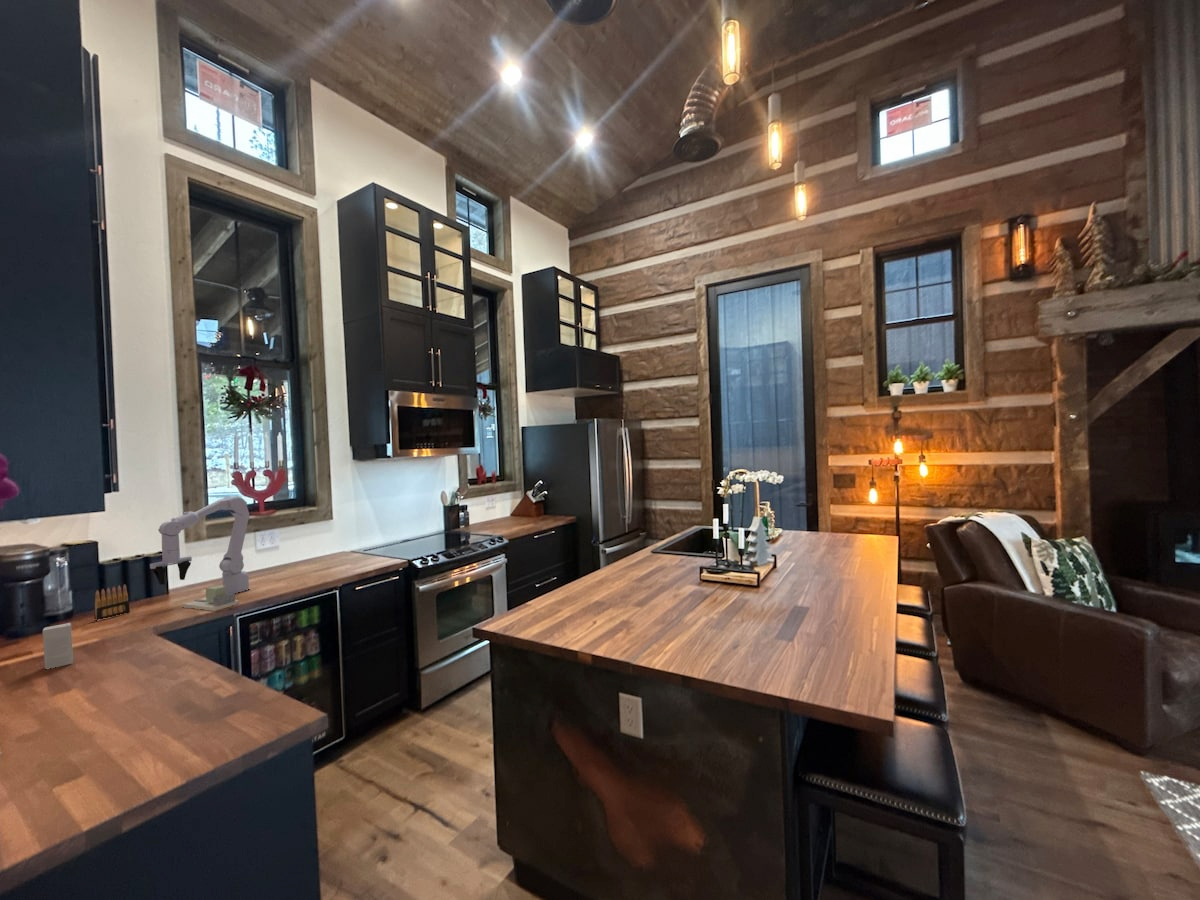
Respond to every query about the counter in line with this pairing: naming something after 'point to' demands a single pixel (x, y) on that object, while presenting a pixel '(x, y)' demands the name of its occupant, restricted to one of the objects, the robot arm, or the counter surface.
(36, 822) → the counter surface
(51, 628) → the skincare box
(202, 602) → the track board
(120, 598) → the ammunition clip
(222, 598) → the end stop
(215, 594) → the keeper
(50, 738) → the counter surface
